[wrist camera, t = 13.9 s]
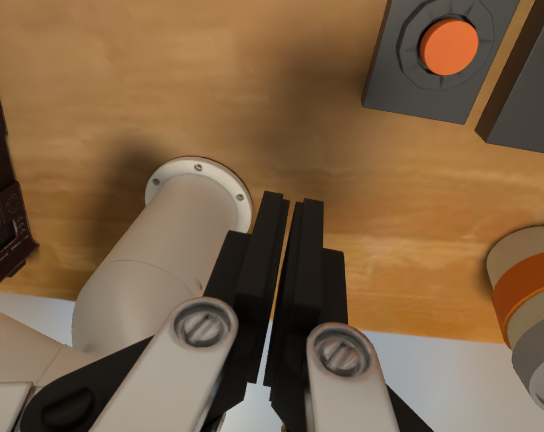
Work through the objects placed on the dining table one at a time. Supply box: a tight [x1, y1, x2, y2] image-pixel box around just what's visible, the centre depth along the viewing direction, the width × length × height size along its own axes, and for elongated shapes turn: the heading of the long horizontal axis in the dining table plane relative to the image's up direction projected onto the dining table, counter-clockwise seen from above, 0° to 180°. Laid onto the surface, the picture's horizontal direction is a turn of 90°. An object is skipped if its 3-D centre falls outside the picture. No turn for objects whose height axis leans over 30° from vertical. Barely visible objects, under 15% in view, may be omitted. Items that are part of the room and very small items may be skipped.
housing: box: [361, 0, 520, 125], centre depth 29 cm, size 12×9×4 cm
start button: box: [420, 18, 478, 75], centre depth 27 cm, size 4×4×2 cm
